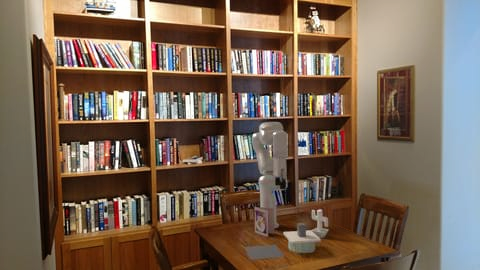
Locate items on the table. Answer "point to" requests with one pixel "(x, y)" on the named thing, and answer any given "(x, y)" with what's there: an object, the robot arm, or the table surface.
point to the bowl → (302, 247)
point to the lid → (301, 235)
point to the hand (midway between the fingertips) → (280, 187)
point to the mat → (263, 252)
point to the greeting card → (264, 221)
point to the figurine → (320, 224)
